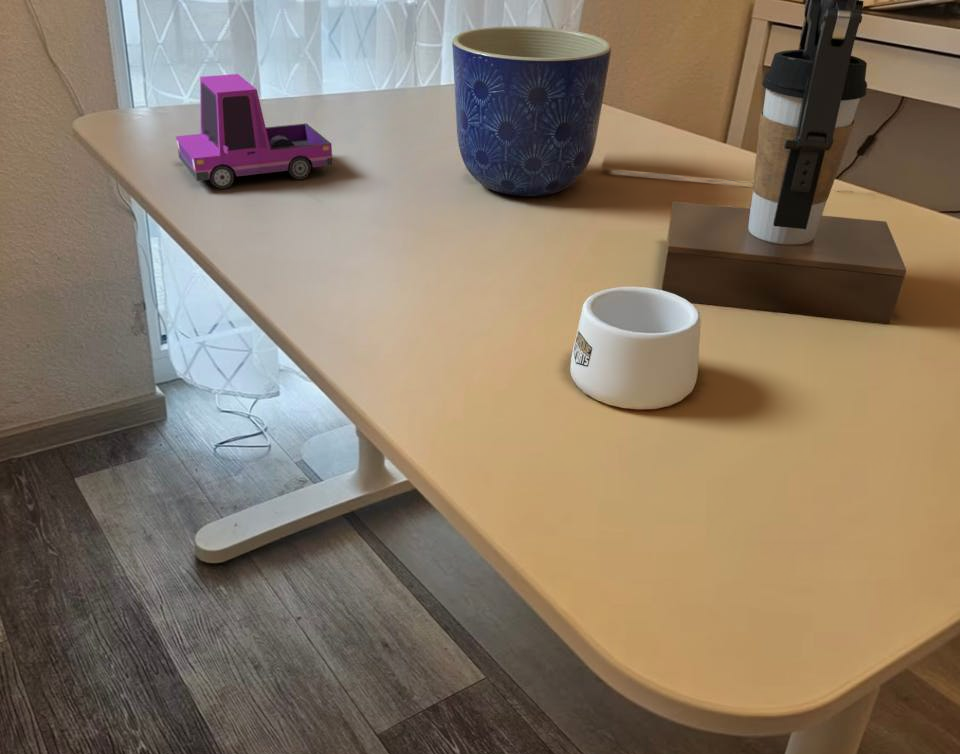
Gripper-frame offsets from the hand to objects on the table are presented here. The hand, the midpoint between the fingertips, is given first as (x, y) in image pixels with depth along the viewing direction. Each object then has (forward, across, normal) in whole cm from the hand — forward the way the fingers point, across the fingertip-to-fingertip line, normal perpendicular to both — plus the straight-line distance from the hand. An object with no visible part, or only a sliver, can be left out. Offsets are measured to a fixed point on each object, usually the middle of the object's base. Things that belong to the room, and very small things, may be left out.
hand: (786, 209), depth 85 cm
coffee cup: (+2, 0, 0) cm, 2 cm away
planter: (+7, -22, -27) cm, 36 cm away
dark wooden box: (+7, 0, 0) cm, 7 cm away
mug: (+7, +21, -12) cm, 25 cm away
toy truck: (+7, -17, -58) cm, 61 cm away
